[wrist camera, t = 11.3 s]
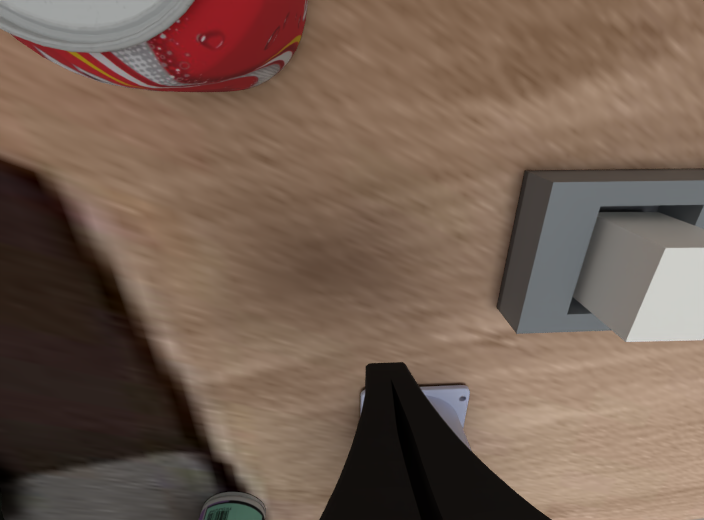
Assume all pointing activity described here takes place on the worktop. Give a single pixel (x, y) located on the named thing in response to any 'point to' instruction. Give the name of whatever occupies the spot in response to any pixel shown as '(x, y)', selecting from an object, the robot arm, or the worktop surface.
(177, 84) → the soda can
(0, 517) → the squash
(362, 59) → the worktop surface
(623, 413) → the worktop surface
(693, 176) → the socket strip
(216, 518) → the spray can
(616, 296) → the plug
